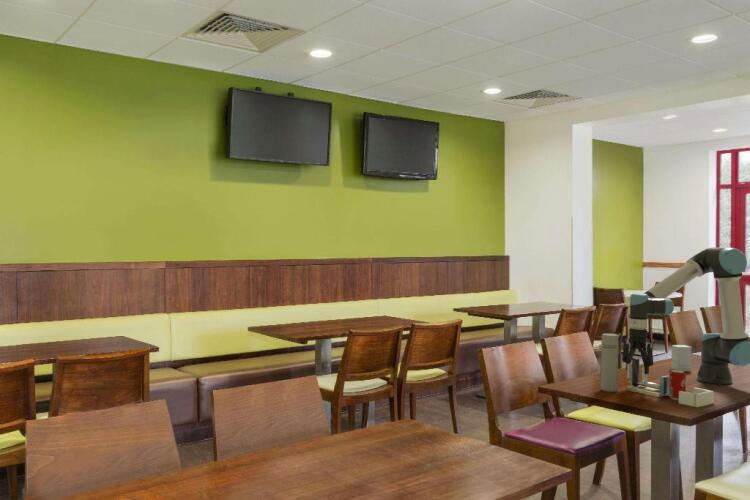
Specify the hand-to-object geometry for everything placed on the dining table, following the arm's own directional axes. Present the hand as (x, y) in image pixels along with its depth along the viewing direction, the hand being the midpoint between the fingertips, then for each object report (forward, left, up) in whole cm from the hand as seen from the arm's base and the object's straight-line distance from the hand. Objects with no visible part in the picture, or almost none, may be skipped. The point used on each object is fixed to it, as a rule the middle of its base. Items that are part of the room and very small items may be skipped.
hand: (637, 379), depth 292 cm
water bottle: (+12, -7, -5) cm, 15 cm away
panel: (0, +5, -5) cm, 7 cm away
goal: (0, +27, -5) cm, 28 cm away
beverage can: (0, +19, -5) cm, 20 cm away
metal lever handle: (0, +6, -4) cm, 7 cm away
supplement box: (-62, -16, -5) cm, 64 cm away
